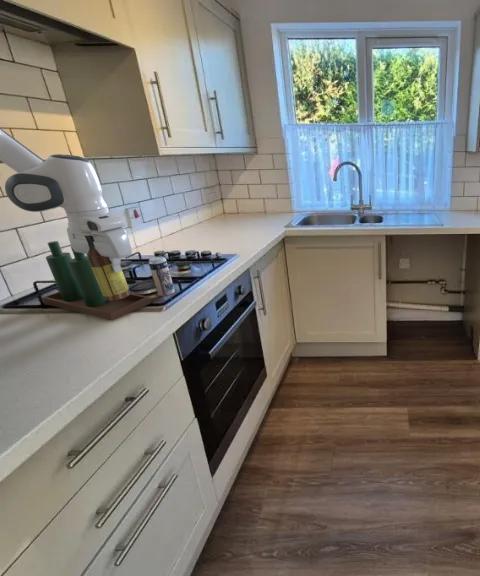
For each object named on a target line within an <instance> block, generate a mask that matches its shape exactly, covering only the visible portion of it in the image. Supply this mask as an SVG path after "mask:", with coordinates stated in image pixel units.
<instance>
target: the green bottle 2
mask: <svg viewBox="0 0 480 576" xmlns="http://www.w3.org/2000/svg"><path fill="white" fill-rule="evenodd" d="M70 249H71V252H72V254H73V257H74V258H72V259H71V260H69V264H70V266H71V269H72V272H73V274H74V277H75V279H76V282H77V284H78V287H79V290H80V292H81V295H82V297H83V300H84V303H85V305H86V306H87V307H96V306H100V305H103V304H105V303H107V302H108V300H106V299H105V297H104V296H103V294H102V292H101V289H100V287H99V284H98V282H97V279H96V277H95V275H94V272H93V270H92V267H91V264H90V261H89V259H88V258H87V256H86V254H85V253H78V252H75V251H74V250H73V249H72V247H71V246H70Z"/></svg>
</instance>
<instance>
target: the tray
mask: <svg viewBox="0 0 480 576" xmlns="http://www.w3.org/2000/svg"><path fill="white" fill-rule="evenodd" d="M41 300H42V302H43V304H44V305H47V306H52V307H55V308H60V309H65V310H69V311H73V312H76V313H81V314H84V315H88V316H93V317H96V318H101V319H105V320H109V321H114V320H116V319H118V318H121V317H123V316H125V315H128V314H131V313H132V312H134V311H137V310H139V309H141V308H144V307H147V306H148V305H151V304H152V300H151V296H148V295H142V294H137V293H132V292H130V294H129V296H128V297H126V298H123V299H120V300H116V301H108V302H107V303H105V304H103V305H100V306H96V307H87V306H86V305H85V303H84V300H83V298H82V299H80V300H76V301H71V302H66V301H63V299H62V296H61V294H60V291H57V292H54V293H51V294H48V295H45V296H42V297H41Z"/></svg>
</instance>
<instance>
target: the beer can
mask: <svg viewBox="0 0 480 576" xmlns="http://www.w3.org/2000/svg"><path fill="white" fill-rule="evenodd" d="M148 266H149V269H150V272H151V276H152V279H153V282H154V283H153V284H154V286H155V289H156V292H157V295H158V296H160V297H162V296H163V297H164V296H169V295H172V294H174V293H176V290H175V286H174V283H173V280H172V276H171V273H170V268H169V265H168V262H167V259H166V257H164V256H160V255H159V256H154V257H151V258H149V260H148Z"/></svg>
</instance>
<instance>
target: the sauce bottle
mask: <svg viewBox="0 0 480 576" xmlns="http://www.w3.org/2000/svg"><path fill="white" fill-rule="evenodd" d="M84 237H85V238H86V240H87V243H88V246H89V251H88V259H89V261H90V264H91V267H92V270H93V272H94V275H95V277H96V279H97V282H98V284H99V287H100V289H101V292H102V294H103V296H104V297H105V299H106V300H108V301H116V300H120V299H123V298H126V297H128V296H129V294H130V293H131V292H130V288H129V285H128V281H127V279H126V277H125V275H124V272H123V269H122V268H121V271H119V272H113V271H111V268H110V266H111V265H112V262H111V261H110V259H109V257H105V256H101V255H100V254H99V253H98V251H97V250H96V249H95V248H94V247H95V246H94V243H93V242H94V239H93V236H84Z"/></svg>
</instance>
